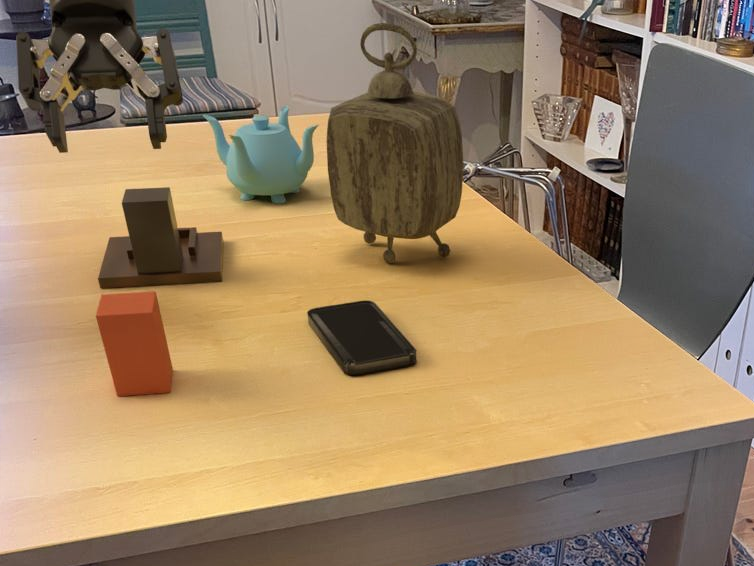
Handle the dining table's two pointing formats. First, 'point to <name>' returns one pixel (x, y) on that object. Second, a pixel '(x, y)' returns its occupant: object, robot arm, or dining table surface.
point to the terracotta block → (135, 343)
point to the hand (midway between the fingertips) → (108, 146)
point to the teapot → (265, 157)
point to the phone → (361, 337)
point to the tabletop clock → (395, 157)
